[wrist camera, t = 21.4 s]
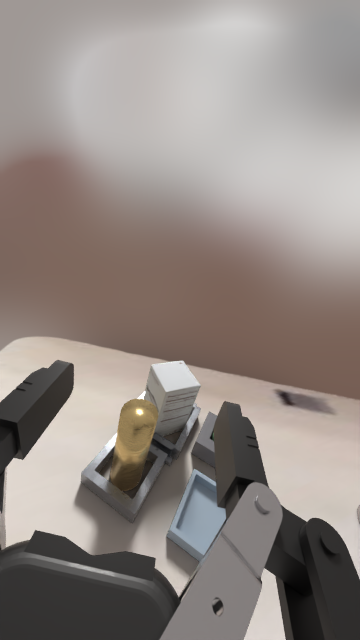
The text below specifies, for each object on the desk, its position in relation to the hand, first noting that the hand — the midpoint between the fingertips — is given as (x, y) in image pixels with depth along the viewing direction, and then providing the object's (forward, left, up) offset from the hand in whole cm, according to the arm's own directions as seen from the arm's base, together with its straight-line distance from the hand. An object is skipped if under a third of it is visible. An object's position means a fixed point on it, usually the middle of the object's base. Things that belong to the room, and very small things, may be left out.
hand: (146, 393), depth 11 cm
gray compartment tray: (+5, -17, -30) cm, 35 cm away
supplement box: (+5, -23, -30) cm, 38 cm away
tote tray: (-9, -12, -30) cm, 33 cm away
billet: (+5, -11, -30) cm, 32 cm away
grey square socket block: (-7, -24, -30) cm, 39 cm away
